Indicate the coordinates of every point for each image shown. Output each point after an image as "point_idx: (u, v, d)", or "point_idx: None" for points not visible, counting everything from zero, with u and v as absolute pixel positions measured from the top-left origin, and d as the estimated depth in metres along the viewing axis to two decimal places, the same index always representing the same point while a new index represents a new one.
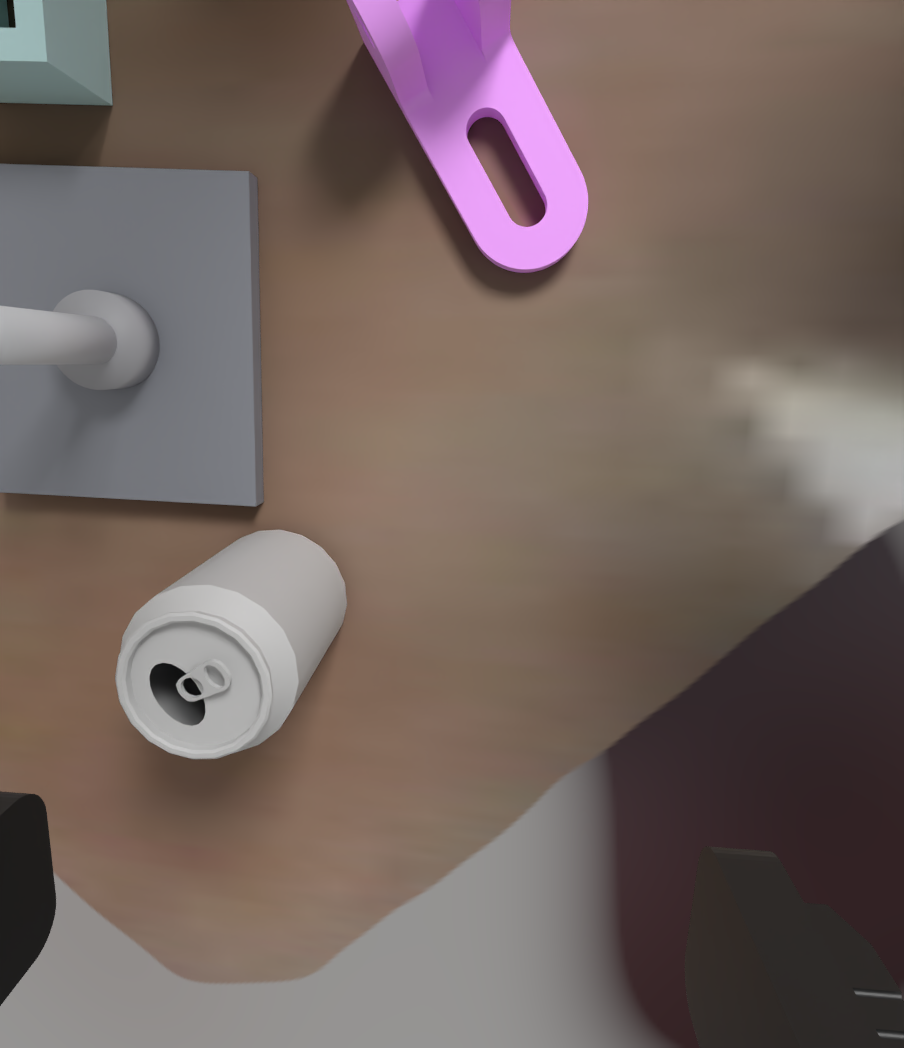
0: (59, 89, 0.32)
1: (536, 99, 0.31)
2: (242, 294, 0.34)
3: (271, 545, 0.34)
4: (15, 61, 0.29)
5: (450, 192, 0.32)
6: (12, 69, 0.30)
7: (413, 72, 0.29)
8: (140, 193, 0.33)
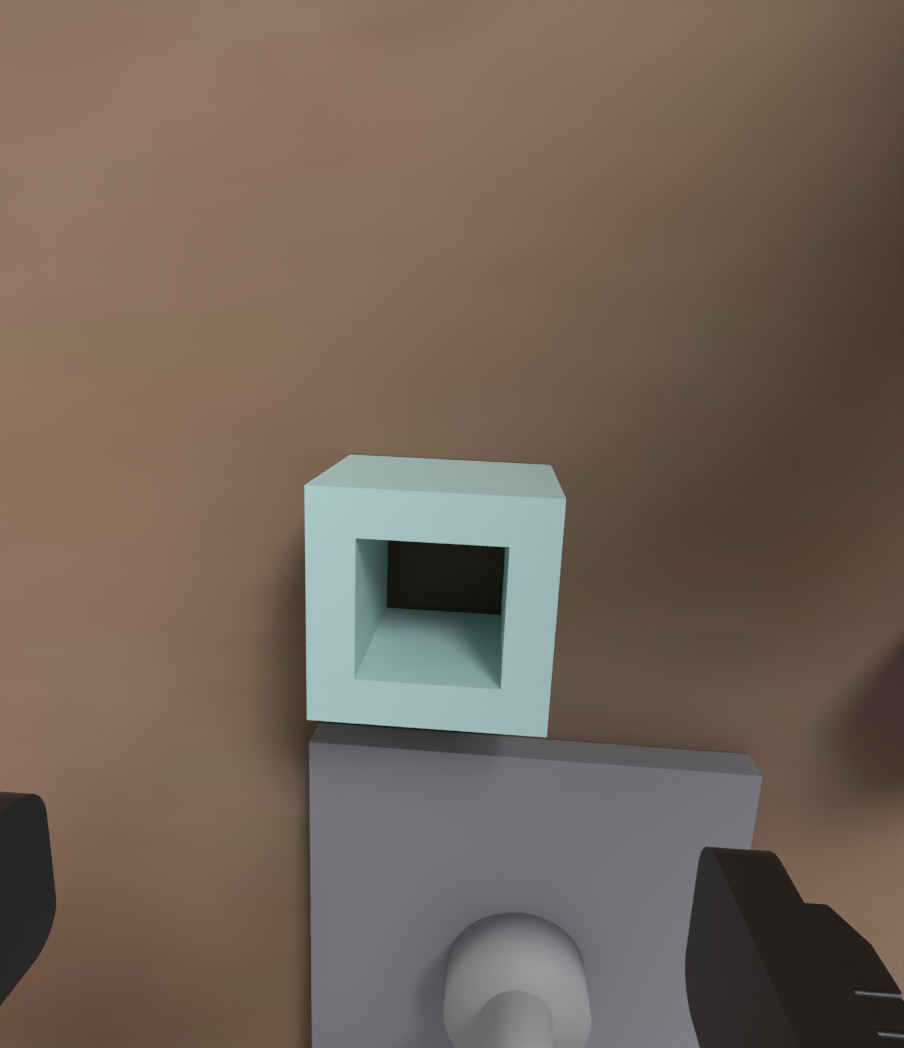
0: None
1: None
2: None
3: None
4: (490, 731, 0.17)
5: None
6: None
7: None
8: (585, 794, 0.22)
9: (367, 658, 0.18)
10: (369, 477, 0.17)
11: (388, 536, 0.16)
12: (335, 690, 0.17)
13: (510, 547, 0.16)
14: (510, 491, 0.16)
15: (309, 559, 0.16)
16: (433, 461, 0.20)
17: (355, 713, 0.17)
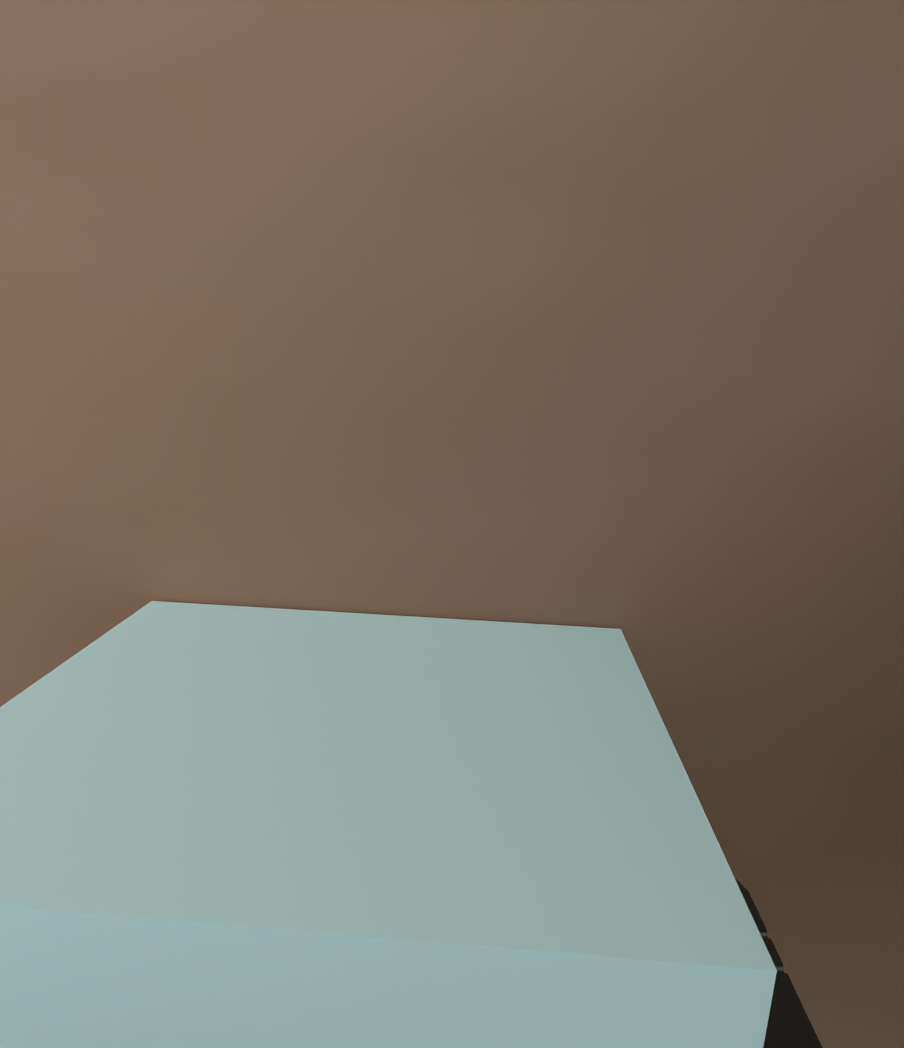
0: None
1: None
2: None
3: None
4: None
5: None
6: None
7: None
8: None
9: None
10: (84, 768, 0.05)
11: None
12: None
13: None
14: (543, 882, 0.04)
15: None
16: (339, 626, 0.08)
17: None
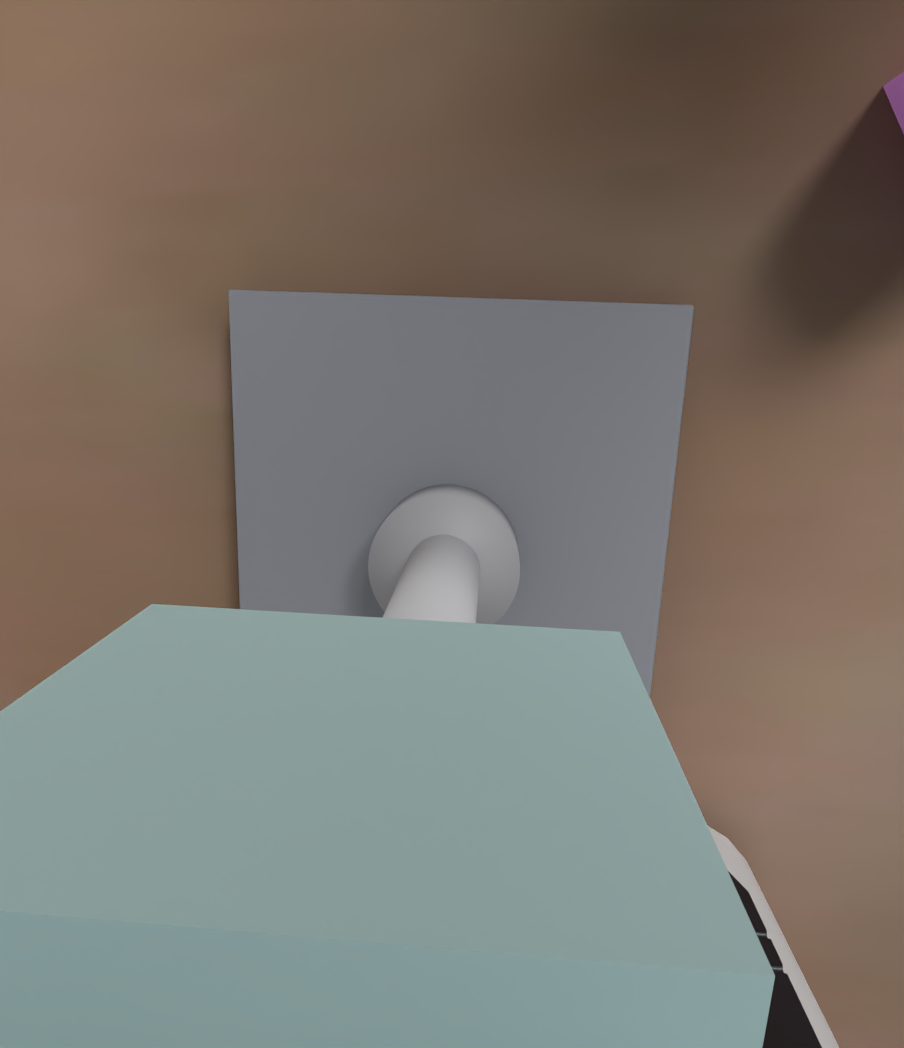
0: None
1: None
2: (658, 488, 0.22)
3: None
4: None
5: None
6: None
7: None
8: (513, 337, 0.21)
9: None
10: (84, 772, 0.05)
11: None
12: None
13: None
14: (541, 887, 0.04)
15: None
16: (339, 629, 0.08)
17: None
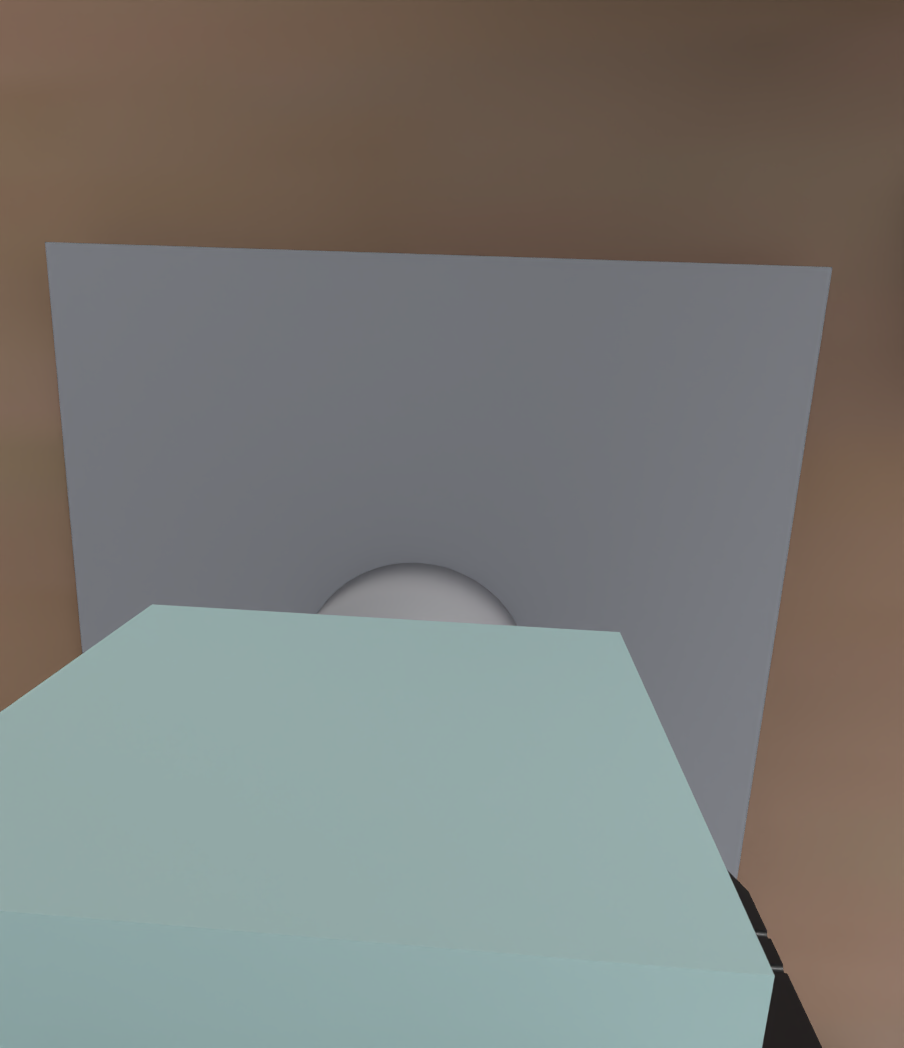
0: None
1: None
2: (760, 572, 0.13)
3: None
4: None
5: None
6: None
7: None
8: (521, 323, 0.13)
9: None
10: (84, 773, 0.05)
11: None
12: None
13: None
14: (542, 887, 0.04)
15: None
16: (339, 630, 0.08)
17: None
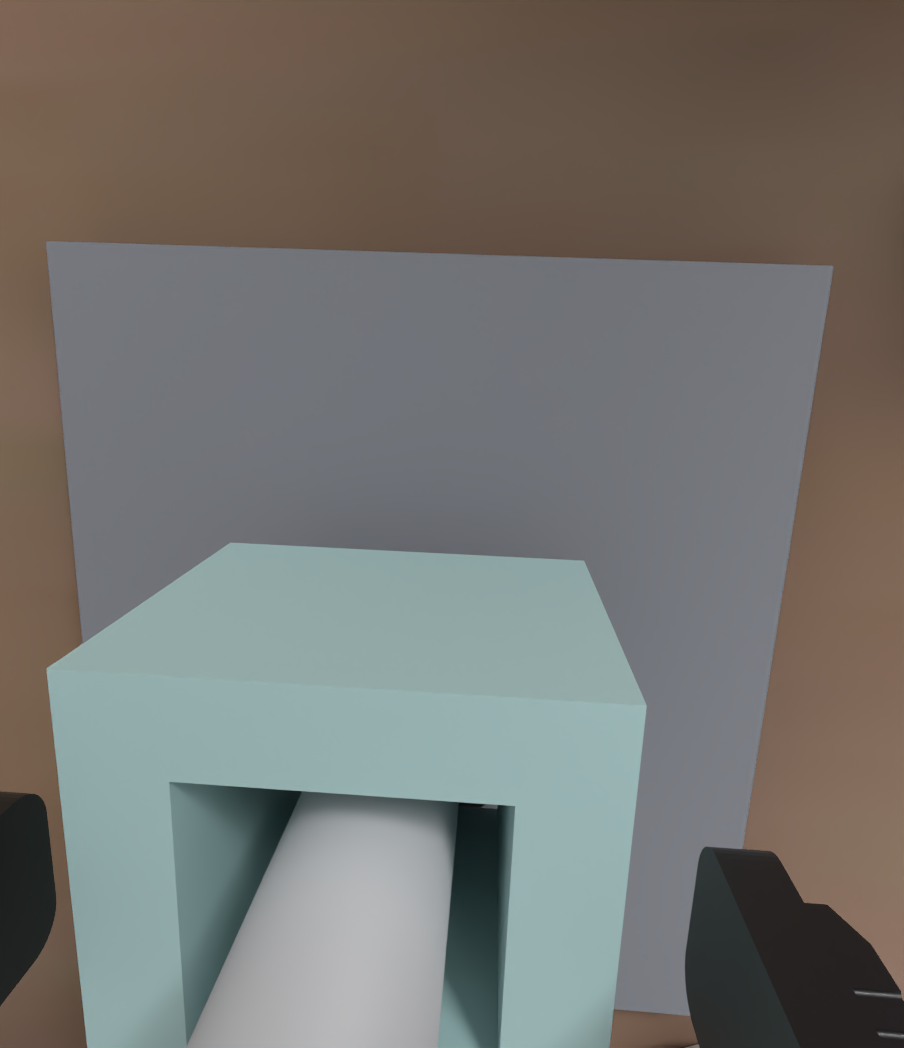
0: None
1: None
2: (761, 571, 0.13)
3: None
4: None
5: None
6: None
7: None
8: (522, 322, 0.12)
9: None
10: (220, 625, 0.08)
11: (241, 779, 0.07)
12: None
13: (516, 804, 0.07)
14: (515, 673, 0.07)
15: (72, 822, 0.07)
16: (374, 558, 0.11)
17: None
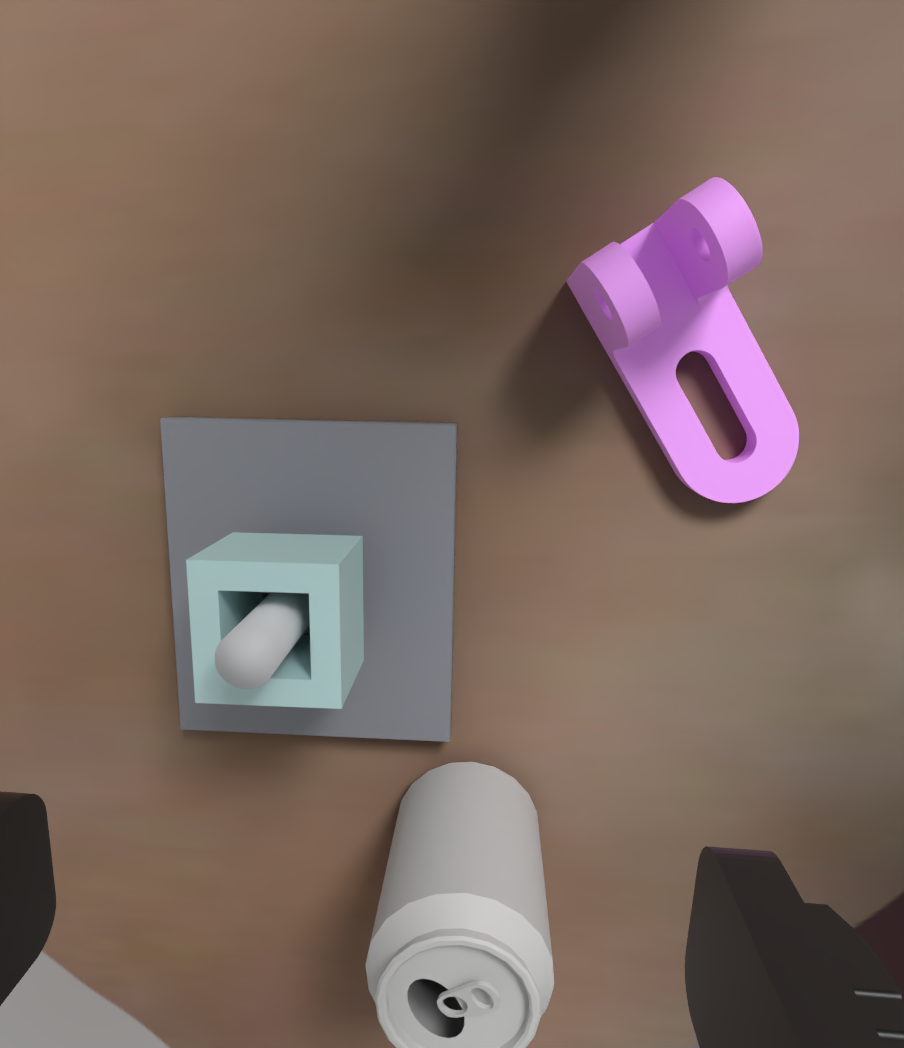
0: None
1: (749, 342, 0.31)
2: (444, 540, 0.33)
3: (479, 795, 0.33)
4: (307, 706, 0.28)
5: (657, 430, 0.32)
6: None
7: None
8: (343, 446, 0.33)
9: None
10: (230, 552, 0.28)
11: (237, 588, 0.27)
12: (211, 683, 0.28)
13: (309, 593, 0.27)
14: (310, 559, 0.27)
15: (191, 603, 0.27)
16: (284, 536, 0.31)
17: (224, 697, 0.28)
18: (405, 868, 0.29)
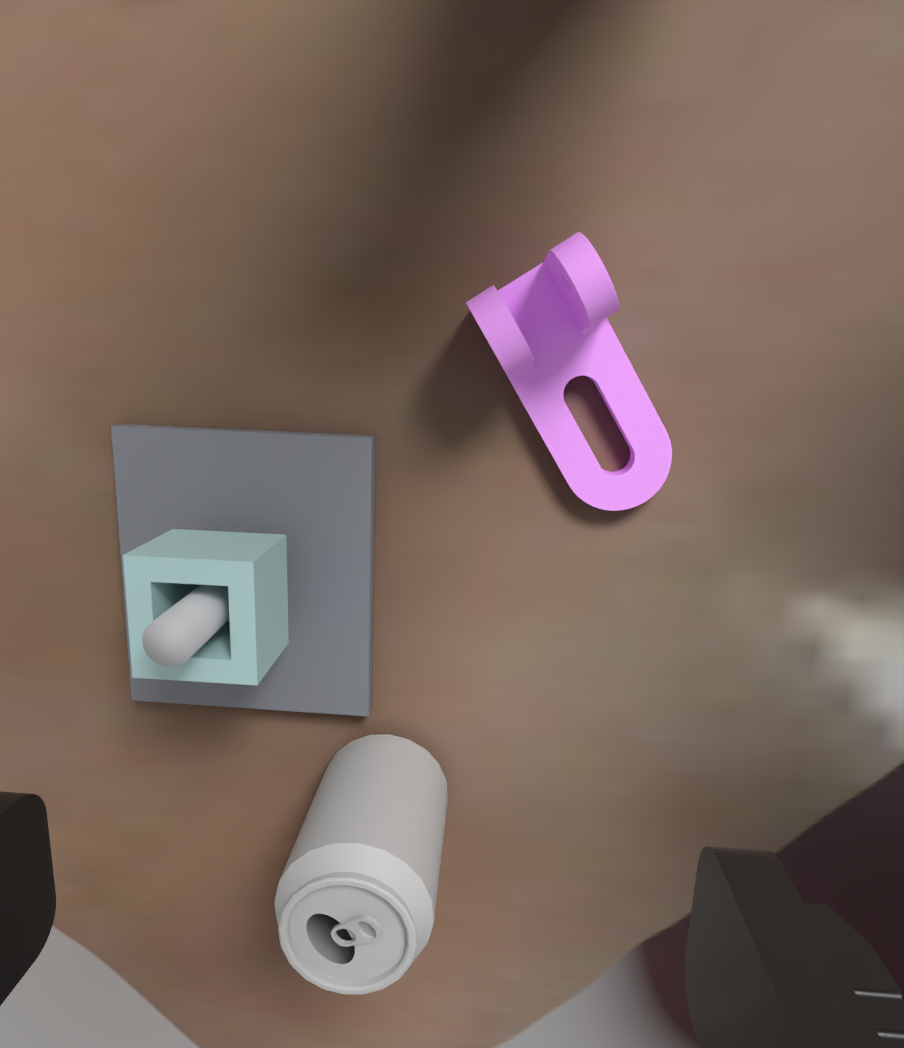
0: None
1: (627, 370, 0.35)
2: (362, 539, 0.38)
3: (388, 763, 0.38)
4: (228, 682, 0.33)
5: (547, 445, 0.36)
6: None
7: None
8: (272, 454, 0.37)
9: None
10: (164, 548, 0.33)
11: (166, 580, 0.32)
12: (146, 661, 0.33)
13: (229, 586, 0.31)
14: (230, 557, 0.32)
15: (127, 592, 0.32)
16: (217, 533, 0.36)
17: (157, 673, 0.33)
18: (314, 823, 0.34)
